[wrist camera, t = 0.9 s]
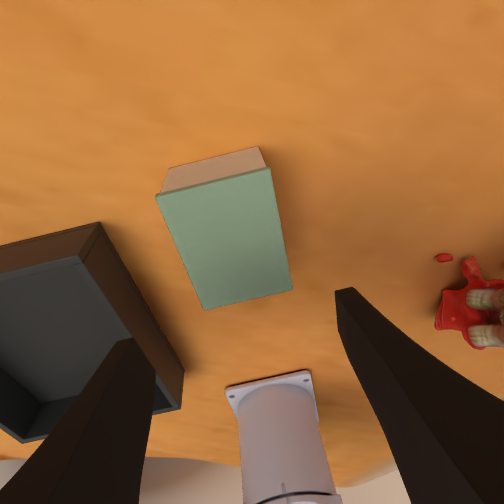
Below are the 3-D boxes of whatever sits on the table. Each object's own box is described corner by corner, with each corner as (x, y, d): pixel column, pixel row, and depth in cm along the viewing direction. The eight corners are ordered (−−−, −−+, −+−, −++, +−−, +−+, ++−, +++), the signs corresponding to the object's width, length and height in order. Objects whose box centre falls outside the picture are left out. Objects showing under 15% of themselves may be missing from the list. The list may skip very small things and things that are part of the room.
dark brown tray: (184, 369, 27) (181, 409, 24) (42, 401, 27) (21, 444, 24) (99, 221, 18) (77, 254, 15) (-106, 271, 19) (-164, 313, 16)
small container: (280, 250, 21) (293, 290, 17) (205, 268, 21) (203, 310, 18) (259, 143, 17) (270, 168, 13) (166, 167, 17) (154, 197, 14)
